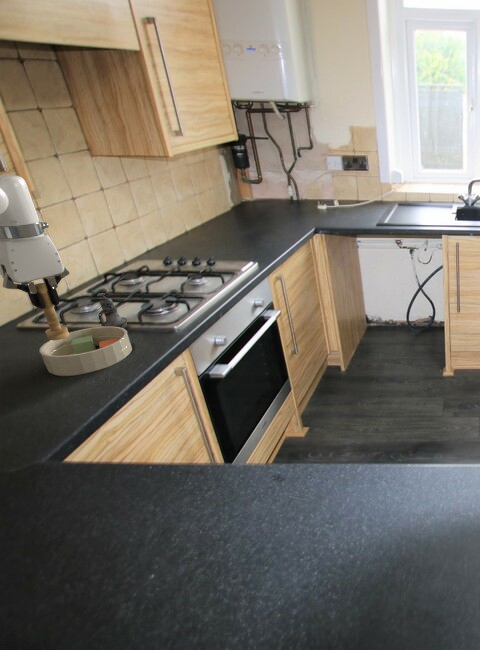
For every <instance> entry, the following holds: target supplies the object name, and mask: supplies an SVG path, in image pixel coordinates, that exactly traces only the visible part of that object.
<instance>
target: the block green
mask: <svg viewBox="0 0 480 650" xmlns="http://www.w3.org/2000/svg"><path fill="white" fill-rule="evenodd" d="M72 347H73V350H74V352H75V354H81V353H86V352H90V351H94V350H97V346H95V343H94V340H93V337H92V335H91V336H86V337H81V338H76V339H72Z"/></svg>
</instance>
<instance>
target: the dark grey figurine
mask: <svg viewBox="0 0 480 650" xmlns="http://www.w3.org/2000/svg"><path fill="white" fill-rule="evenodd" d="M99 305H100V307H101V310H102V311H101V313H102V314H103V315H104V317H105V321H104V322H102V323H101V327H106V326H113V327H120V328H124V329H125V328H126V327H127V325H128V318H127V317H123V316H120V315H119V312H118V308H117V307H116V306H115V303H114V301H113V299H112V298H110V297H106V296H105V295H102V299H100V300H99Z"/></svg>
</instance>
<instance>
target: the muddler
mask: <svg viewBox="0 0 480 650" xmlns="http://www.w3.org/2000/svg"><path fill="white" fill-rule="evenodd" d="M34 284H35V287H36V290H37V291H38V292H39V293H41V295H42V298H43V300H44V303H45V306H46V308H44V309H42V311H43V315H44V317H45V319H46V322H47V324H48V328H47V329H46V330H45V336H46V338H47V340H48V341H50V340H59V339H63V338H66V337H68V336H69V333H70V332H69V329H68V327H67V326H64V325H63V326H62V325H61V323H60V320H59V317H58V315H57V312H56V309H55V307H54V306H55V305H54V304H53V303H52V301H51V298H50V295H49V292H48V289H47V287H46V284H45V283H44V282H37V283H34Z"/></svg>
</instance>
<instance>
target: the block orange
mask: <svg viewBox="0 0 480 650" xmlns="http://www.w3.org/2000/svg"><path fill="white" fill-rule="evenodd" d="M118 340H119V338H116V339H111V340H106V341H102V342H99V345H98V346H99V349H101V348H103V347H106V346H108V345H111V344H113V343H115V342H117V341H118Z"/></svg>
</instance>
